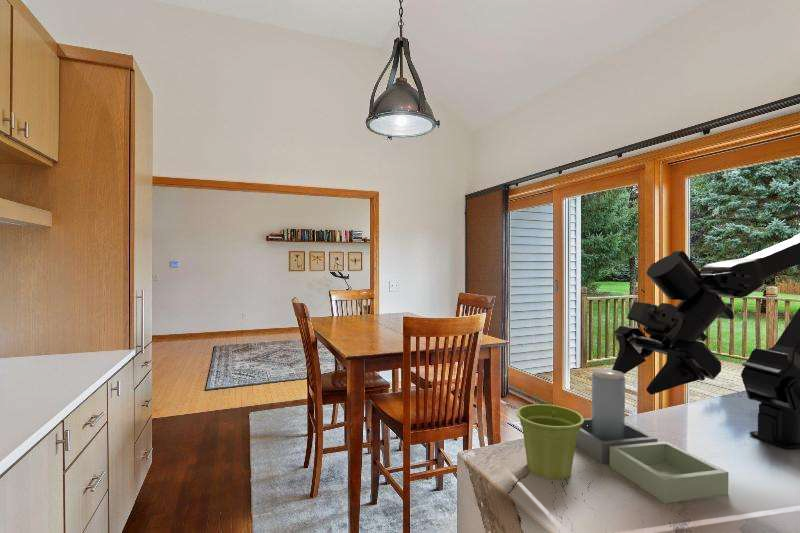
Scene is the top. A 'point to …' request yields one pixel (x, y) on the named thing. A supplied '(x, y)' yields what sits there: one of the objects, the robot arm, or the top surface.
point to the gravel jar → (608, 404)
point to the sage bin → (669, 471)
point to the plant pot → (550, 438)
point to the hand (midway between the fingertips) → (629, 384)
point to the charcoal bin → (602, 448)
